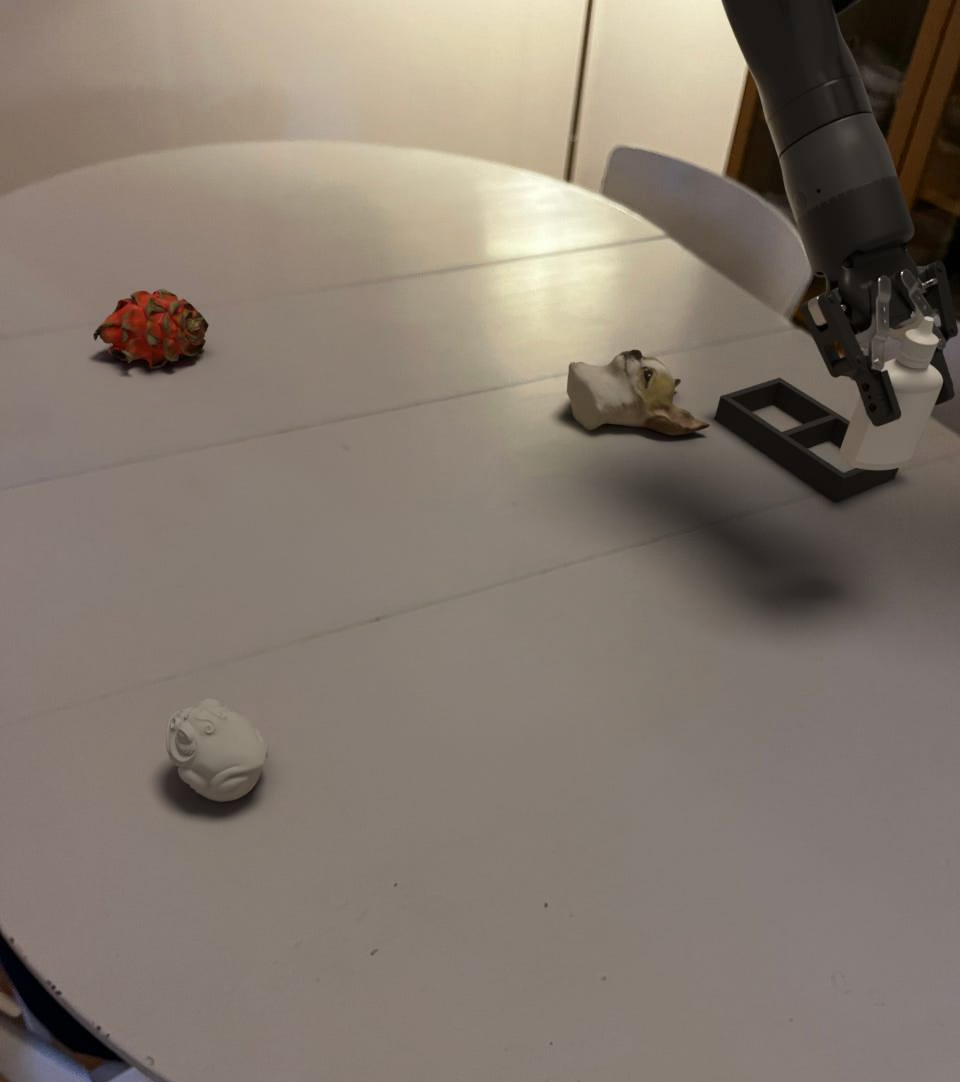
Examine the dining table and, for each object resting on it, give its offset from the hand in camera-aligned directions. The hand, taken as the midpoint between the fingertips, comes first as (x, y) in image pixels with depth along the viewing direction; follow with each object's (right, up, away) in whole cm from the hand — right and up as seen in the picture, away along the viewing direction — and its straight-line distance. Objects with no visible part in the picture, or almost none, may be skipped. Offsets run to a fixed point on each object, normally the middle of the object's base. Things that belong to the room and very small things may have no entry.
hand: (915, 412), depth 80 cm
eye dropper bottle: (-1, -3, +5) cm, 6 cm away
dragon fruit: (-68, +13, +36) cm, 78 cm away
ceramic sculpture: (-17, +6, +34) cm, 39 cm away
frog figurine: (-51, -28, -6) cm, 58 cm away
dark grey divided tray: (+1, +2, +32) cm, 32 cm away
